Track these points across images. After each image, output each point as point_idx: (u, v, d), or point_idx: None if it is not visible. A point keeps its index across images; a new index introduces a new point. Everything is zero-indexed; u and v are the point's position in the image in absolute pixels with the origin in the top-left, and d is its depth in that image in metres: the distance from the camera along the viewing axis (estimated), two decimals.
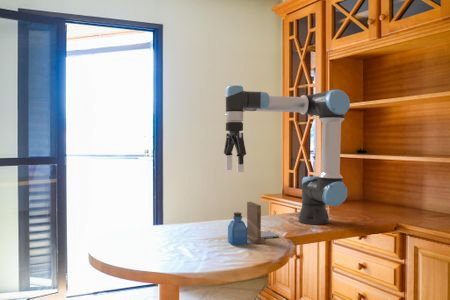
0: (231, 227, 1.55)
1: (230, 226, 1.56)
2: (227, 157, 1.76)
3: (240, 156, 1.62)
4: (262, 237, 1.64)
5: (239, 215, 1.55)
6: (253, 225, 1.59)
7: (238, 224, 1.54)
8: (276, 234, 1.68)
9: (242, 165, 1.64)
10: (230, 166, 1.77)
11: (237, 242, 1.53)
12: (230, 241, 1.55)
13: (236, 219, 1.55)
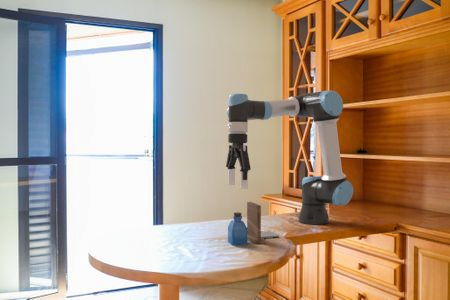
0: (231, 227, 1.55)
1: (230, 226, 1.56)
2: (229, 171, 1.62)
3: (244, 171, 1.48)
4: (262, 237, 1.64)
5: (239, 215, 1.55)
6: (253, 225, 1.59)
7: (238, 224, 1.54)
8: (276, 234, 1.68)
9: (246, 181, 1.50)
10: (233, 181, 1.62)
11: (237, 242, 1.53)
12: (230, 241, 1.55)
13: (236, 219, 1.55)
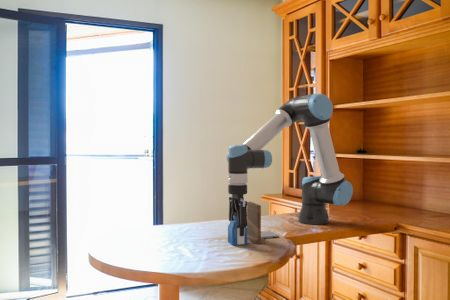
0: (231, 227, 1.55)
1: (230, 226, 1.56)
2: None
3: (241, 228, 1.52)
4: (262, 237, 1.64)
5: None
6: (253, 225, 1.59)
7: None
8: (276, 234, 1.68)
9: (243, 237, 1.53)
10: None
11: None
12: (230, 241, 1.55)
13: (236, 219, 1.55)
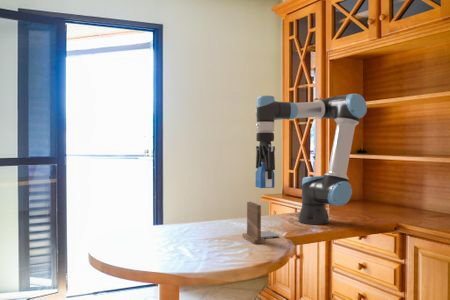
0: (259, 171, 1.67)
1: (258, 171, 1.68)
2: None
3: (269, 171, 1.63)
4: (262, 237, 1.64)
5: None
6: (253, 225, 1.59)
7: None
8: (276, 234, 1.68)
9: (270, 180, 1.65)
10: None
11: None
12: (258, 185, 1.67)
13: (264, 164, 1.67)
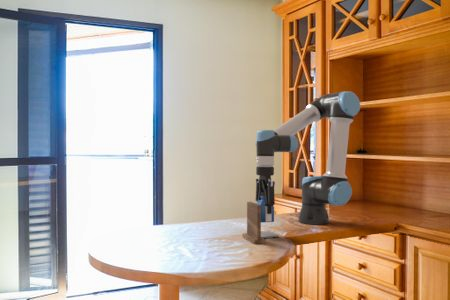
0: None
1: None
2: None
3: (268, 206, 1.64)
4: (262, 237, 1.64)
5: None
6: (253, 225, 1.59)
7: None
8: (276, 234, 1.68)
9: (270, 214, 1.65)
10: None
11: None
12: None
13: (263, 198, 1.67)
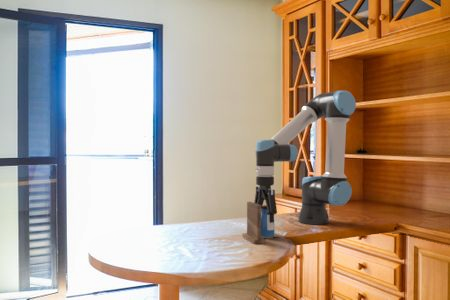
0: None
1: None
2: None
3: (271, 214, 1.62)
4: (262, 237, 1.64)
5: (266, 208, 1.68)
6: (253, 225, 1.59)
7: (266, 216, 1.67)
8: (276, 234, 1.68)
9: (272, 223, 1.64)
10: None
11: (265, 232, 1.66)
12: None
13: (264, 211, 1.67)
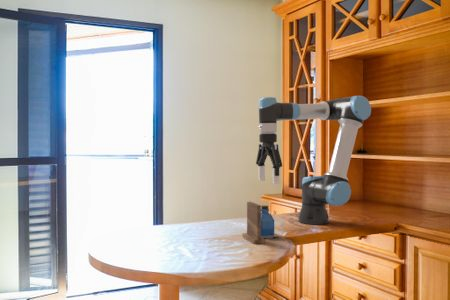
0: None
1: None
2: (260, 168, 1.77)
3: (276, 168, 1.63)
4: (262, 237, 1.64)
5: (266, 208, 1.68)
6: (253, 225, 1.59)
7: (266, 216, 1.67)
8: (276, 234, 1.68)
9: (278, 177, 1.65)
10: (263, 177, 1.78)
11: (265, 232, 1.66)
12: None
13: (264, 211, 1.67)
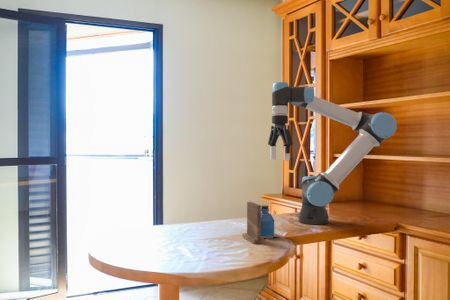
0: None
1: None
2: (272, 148, 1.93)
3: (287, 146, 1.79)
4: (262, 237, 1.64)
5: (266, 208, 1.68)
6: (253, 225, 1.59)
7: (266, 216, 1.67)
8: (276, 234, 1.68)
9: (288, 154, 1.80)
10: (274, 156, 1.93)
11: (265, 232, 1.66)
12: None
13: (264, 211, 1.67)
